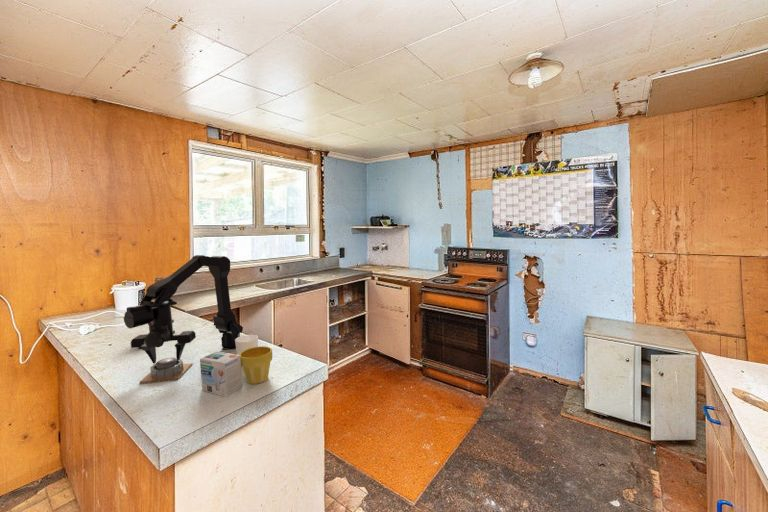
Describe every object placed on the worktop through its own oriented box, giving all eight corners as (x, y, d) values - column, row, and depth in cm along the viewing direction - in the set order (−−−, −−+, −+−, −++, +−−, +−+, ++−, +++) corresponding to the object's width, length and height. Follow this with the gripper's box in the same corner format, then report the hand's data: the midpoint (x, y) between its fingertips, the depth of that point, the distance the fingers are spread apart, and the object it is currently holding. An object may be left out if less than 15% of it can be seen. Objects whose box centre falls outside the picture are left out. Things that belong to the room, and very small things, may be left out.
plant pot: (247, 373, 116) (245, 346, 115) (276, 371, 116) (275, 345, 115) (236, 387, 105) (234, 358, 104) (269, 386, 106) (267, 357, 105)
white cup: (237, 370, 118) (235, 343, 117) (236, 362, 125) (234, 336, 124) (260, 365, 122) (259, 339, 121) (258, 357, 129) (256, 333, 128)
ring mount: (192, 364, 124) (191, 356, 123) (178, 379, 112) (177, 370, 112) (157, 367, 122) (156, 359, 121) (139, 383, 110) (138, 373, 110)
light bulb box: (201, 391, 104) (198, 358, 103) (218, 381, 110) (216, 350, 109) (226, 396, 100) (224, 363, 99) (243, 386, 106) (241, 354, 105)
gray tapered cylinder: (180, 367, 120) (179, 356, 120) (172, 374, 114) (171, 363, 114) (162, 369, 119) (160, 358, 119) (153, 376, 113) (152, 365, 113)
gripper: (118, 329, 105) (123, 375, 107) (181, 324, 108) (185, 369, 110) (137, 319, 116) (142, 361, 118) (194, 315, 119) (198, 356, 121)
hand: (166, 362), depth 116 cm, fingers open, 7 cm apart
